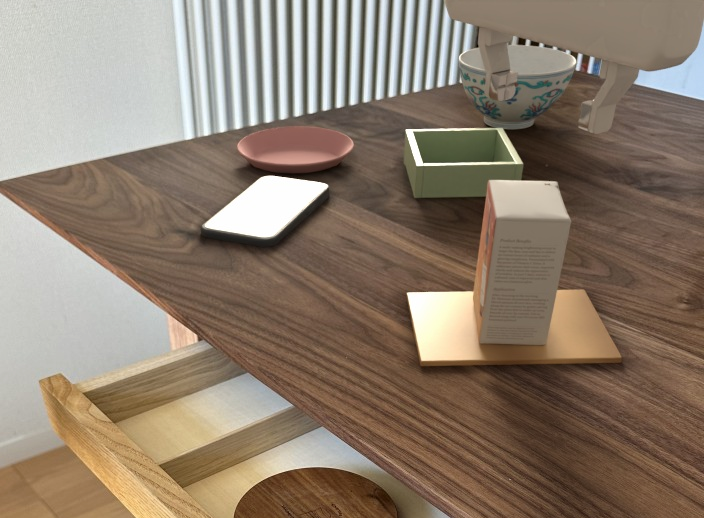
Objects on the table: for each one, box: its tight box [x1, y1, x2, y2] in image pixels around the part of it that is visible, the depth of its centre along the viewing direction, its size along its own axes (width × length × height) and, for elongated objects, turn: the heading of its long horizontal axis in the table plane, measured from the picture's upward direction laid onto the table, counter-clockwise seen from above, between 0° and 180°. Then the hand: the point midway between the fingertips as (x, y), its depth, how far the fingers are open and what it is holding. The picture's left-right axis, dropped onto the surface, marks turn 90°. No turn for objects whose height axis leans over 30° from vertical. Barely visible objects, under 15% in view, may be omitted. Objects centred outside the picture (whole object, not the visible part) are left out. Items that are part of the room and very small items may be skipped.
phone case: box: [200, 175, 331, 248], centre depth 91 cm, size 9×2×16 cm
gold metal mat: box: [405, 289, 623, 367], centre depth 72 cm, size 16×12×1 cm
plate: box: [236, 125, 355, 174], centre depth 105 cm, size 14×14×2 cm
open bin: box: [403, 127, 524, 199], centre depth 98 cm, size 12×13×4 cm
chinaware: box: [458, 44, 578, 130], centre depth 113 cm, size 15×15×8 cm
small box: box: [473, 180, 572, 345], centre depth 68 cm, size 8×6×10 cm
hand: (543, 113), depth 61 cm, fingers open, 8 cm apart
